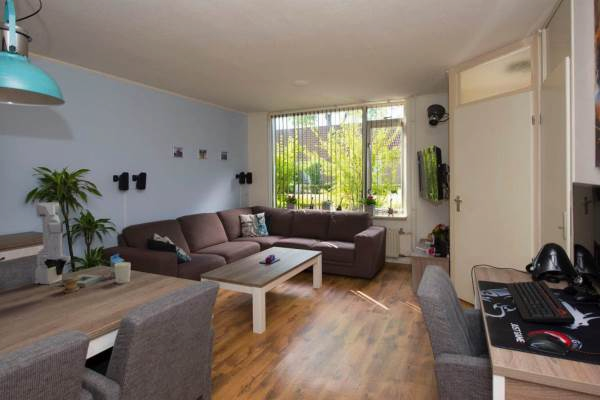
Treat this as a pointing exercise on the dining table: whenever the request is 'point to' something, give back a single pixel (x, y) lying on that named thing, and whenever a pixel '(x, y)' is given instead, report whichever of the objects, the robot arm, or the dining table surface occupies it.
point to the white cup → (122, 272)
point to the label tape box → (115, 261)
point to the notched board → (87, 280)
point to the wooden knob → (70, 284)
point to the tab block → (53, 275)
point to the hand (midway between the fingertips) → (56, 274)
